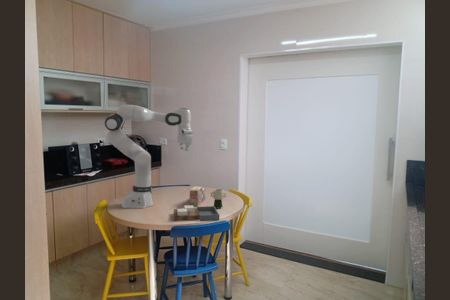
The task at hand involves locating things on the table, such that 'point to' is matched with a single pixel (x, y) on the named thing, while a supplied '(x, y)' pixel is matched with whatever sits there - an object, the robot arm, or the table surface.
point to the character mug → (218, 197)
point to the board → (189, 216)
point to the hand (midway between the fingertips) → (184, 150)
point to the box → (208, 213)
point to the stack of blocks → (197, 196)
